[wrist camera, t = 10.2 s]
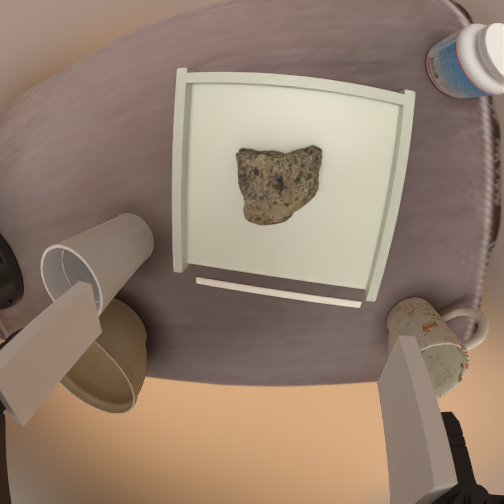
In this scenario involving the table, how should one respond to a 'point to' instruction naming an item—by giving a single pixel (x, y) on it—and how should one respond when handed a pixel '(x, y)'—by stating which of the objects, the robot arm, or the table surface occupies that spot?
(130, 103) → the table surface
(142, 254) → the cup
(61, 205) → the table surface
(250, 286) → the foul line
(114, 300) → the planter bowl
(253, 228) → the white square tray
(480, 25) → the pill bottle
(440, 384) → the mug
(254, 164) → the rock
